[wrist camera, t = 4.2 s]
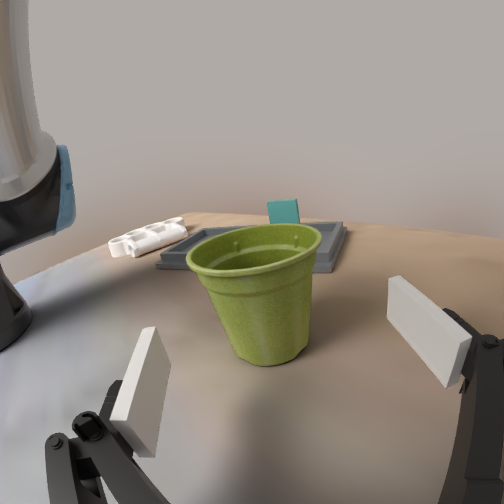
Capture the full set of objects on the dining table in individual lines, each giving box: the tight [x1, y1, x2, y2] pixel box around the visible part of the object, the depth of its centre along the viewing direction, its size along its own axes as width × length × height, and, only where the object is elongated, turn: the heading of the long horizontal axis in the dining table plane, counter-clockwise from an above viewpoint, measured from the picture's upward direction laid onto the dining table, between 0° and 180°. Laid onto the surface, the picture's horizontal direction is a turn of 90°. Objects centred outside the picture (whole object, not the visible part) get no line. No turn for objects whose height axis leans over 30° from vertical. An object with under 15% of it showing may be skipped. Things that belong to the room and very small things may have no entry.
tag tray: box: [156, 199, 347, 273], centre depth 44 cm, size 27×15×6 cm, turn 66°
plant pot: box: [186, 223, 322, 366], centre depth 22 cm, size 9×9×9 cm
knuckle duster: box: [108, 217, 188, 257], centre depth 60 cm, size 3×18×15 cm
